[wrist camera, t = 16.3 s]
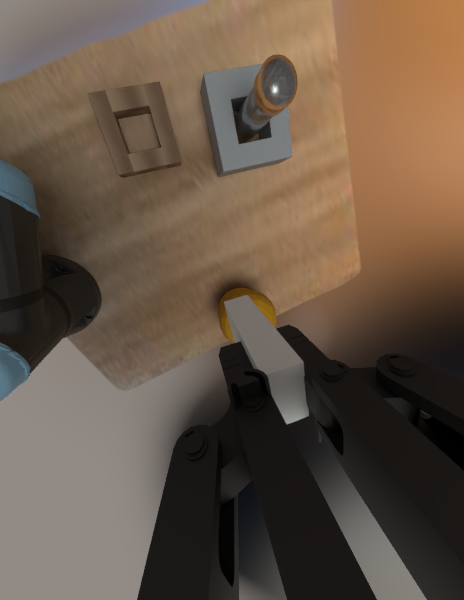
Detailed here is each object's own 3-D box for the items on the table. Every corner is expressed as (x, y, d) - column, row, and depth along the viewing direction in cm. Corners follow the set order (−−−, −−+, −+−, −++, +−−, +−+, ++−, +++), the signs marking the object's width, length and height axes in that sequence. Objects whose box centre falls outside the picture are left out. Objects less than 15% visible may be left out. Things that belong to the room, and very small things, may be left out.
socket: (218, 176, 39) (223, 171, 35) (200, 92, 34) (203, 73, 30) (279, 162, 41) (292, 156, 36) (270, 79, 36) (283, 60, 31)
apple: (260, 277, 48) (286, 297, 37) (258, 320, 52) (280, 350, 41) (212, 279, 46) (223, 302, 34) (213, 324, 50) (223, 358, 38)
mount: (122, 177, 36) (118, 175, 34) (94, 101, 32) (87, 93, 30) (181, 164, 37) (181, 161, 35) (160, 90, 33) (159, 81, 31)
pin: (232, 148, 38) (262, 112, 24) (226, 116, 36) (255, 57, 23) (256, 143, 39) (299, 105, 25) (252, 111, 37) (295, 51, 23)
